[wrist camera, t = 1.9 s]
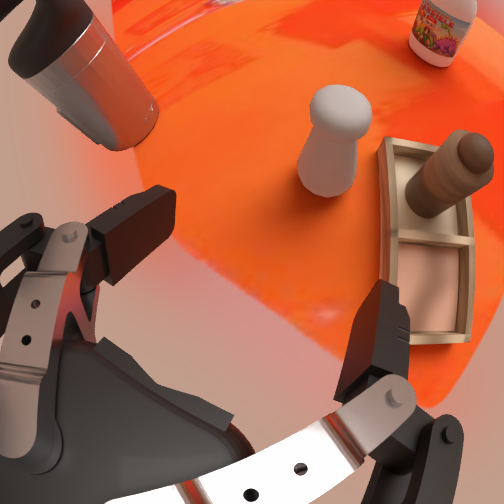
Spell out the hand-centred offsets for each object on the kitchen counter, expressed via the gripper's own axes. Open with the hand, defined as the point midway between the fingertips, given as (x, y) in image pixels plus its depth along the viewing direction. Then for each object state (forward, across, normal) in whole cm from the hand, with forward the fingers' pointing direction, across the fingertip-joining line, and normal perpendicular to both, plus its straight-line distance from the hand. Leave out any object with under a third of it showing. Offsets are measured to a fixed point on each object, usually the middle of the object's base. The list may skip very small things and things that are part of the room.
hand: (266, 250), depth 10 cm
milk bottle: (+42, -8, -16) cm, 45 cm away
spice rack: (+19, -12, +6) cm, 24 cm away
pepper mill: (+22, -10, +2) cm, 24 cm away
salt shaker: (+21, 0, +5) cm, 21 cm away
